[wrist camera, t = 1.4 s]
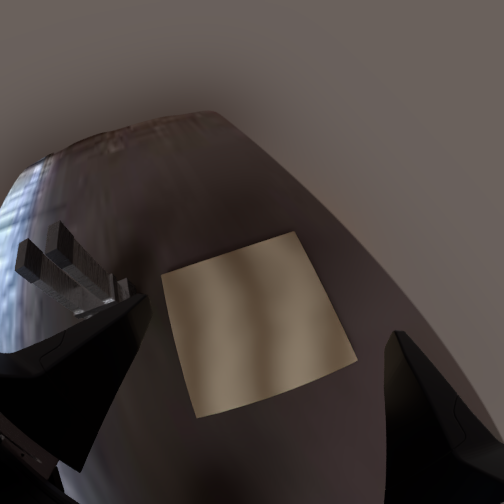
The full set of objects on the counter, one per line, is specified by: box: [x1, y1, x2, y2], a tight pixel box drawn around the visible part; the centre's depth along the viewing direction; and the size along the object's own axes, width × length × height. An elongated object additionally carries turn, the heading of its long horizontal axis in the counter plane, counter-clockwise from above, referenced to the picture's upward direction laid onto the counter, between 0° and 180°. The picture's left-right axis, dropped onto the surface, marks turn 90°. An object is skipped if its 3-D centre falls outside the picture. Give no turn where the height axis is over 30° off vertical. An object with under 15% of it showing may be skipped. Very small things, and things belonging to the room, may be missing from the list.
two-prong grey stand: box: [15, 220, 136, 320], centre depth 20 cm, size 5×5×13 cm
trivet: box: [161, 231, 357, 418], centre depth 24 cm, size 14×14×1 cm
